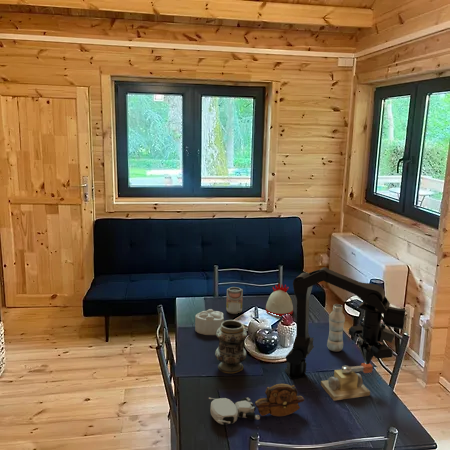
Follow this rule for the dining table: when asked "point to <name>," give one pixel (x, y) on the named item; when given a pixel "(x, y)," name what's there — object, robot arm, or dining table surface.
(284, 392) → the wooden carving
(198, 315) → the lumpy-topped squat cylinder
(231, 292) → the beige cylinder
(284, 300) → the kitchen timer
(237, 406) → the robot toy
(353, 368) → the lever
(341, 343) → the plastic bottle
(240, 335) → the apothecary jar
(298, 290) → the robot arm
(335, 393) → the valve board
